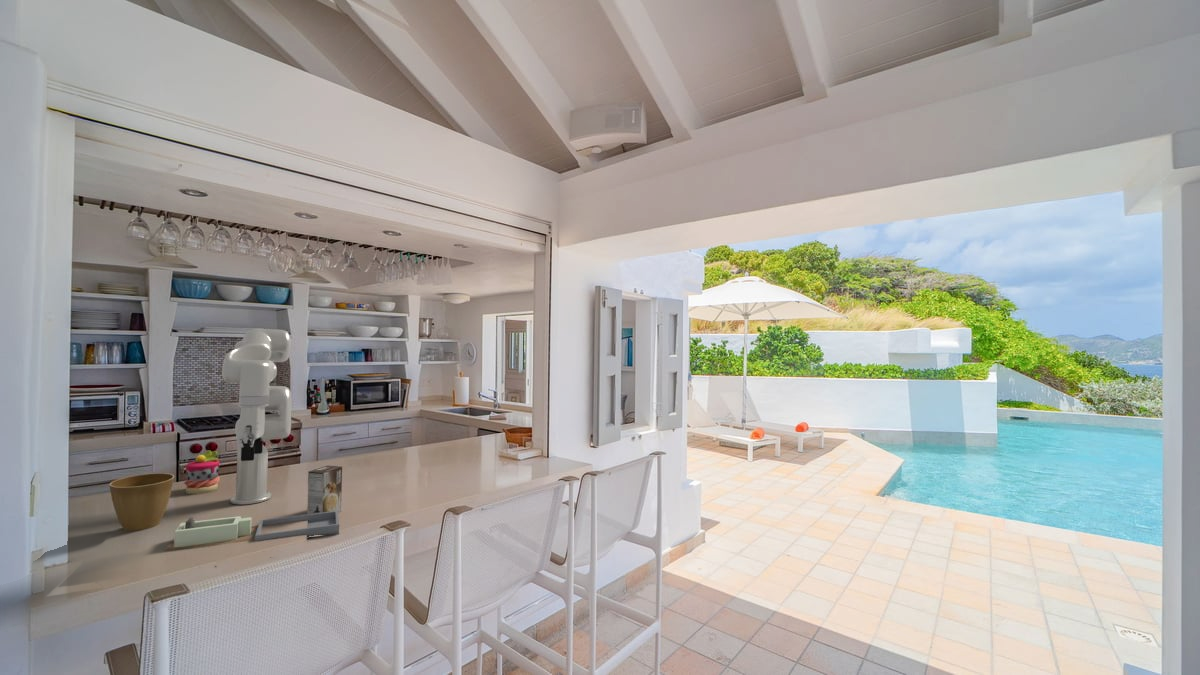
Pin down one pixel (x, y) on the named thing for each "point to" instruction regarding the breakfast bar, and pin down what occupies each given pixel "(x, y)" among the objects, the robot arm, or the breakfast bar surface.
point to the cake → (202, 474)
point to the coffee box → (324, 489)
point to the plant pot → (141, 499)
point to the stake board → (191, 525)
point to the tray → (316, 526)
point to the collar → (212, 531)
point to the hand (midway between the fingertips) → (251, 456)
